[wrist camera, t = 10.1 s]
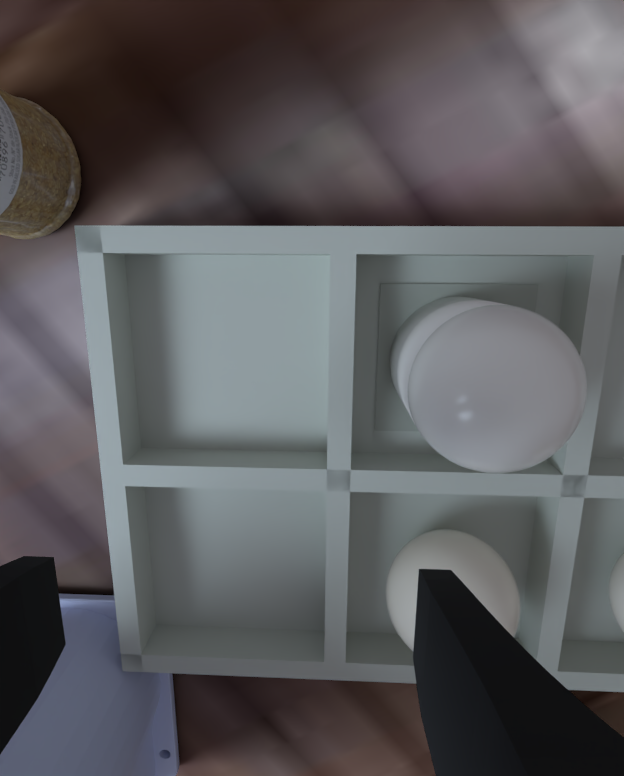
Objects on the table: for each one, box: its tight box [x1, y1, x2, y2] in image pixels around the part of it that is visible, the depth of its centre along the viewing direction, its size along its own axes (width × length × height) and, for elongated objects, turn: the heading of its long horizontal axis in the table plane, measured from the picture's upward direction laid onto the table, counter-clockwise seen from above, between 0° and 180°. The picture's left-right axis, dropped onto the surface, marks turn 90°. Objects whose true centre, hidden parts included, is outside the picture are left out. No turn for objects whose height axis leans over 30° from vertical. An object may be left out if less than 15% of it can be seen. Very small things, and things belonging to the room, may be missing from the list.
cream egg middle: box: [386, 529, 520, 651], centre depth 16 cm, size 4×4×4 cm
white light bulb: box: [389, 296, 587, 473], centre depth 13 cm, size 4×4×6 cm
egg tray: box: [74, 226, 624, 692], centre depth 17 cm, size 16×24×2 cm
